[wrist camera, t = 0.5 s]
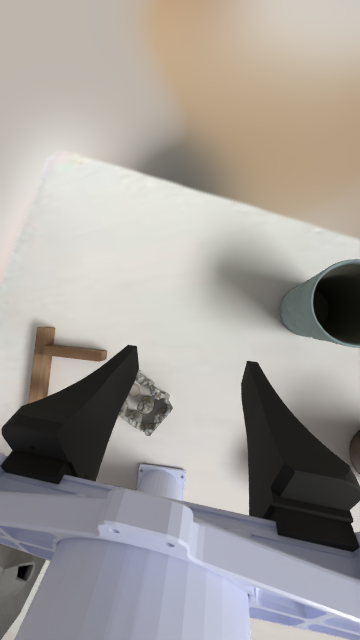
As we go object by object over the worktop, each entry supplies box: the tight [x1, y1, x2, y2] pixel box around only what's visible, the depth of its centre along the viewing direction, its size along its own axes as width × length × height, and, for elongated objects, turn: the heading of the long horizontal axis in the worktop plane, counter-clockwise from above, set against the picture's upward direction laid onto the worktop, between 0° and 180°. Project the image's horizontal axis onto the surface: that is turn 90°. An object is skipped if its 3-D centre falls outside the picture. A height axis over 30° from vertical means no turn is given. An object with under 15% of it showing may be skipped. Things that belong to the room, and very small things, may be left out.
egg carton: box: [119, 370, 173, 436], centre depth 36 cm, size 11×8×4 cm
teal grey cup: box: [280, 259, 360, 348], centre depth 31 cm, size 10×10×12 cm
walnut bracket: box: [28, 327, 107, 404], centre depth 38 cm, size 20×12×2 cm, turn 174°
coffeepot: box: [0, 544, 46, 640], centre depth 29 cm, size 15×9×18 cm, turn 122°
